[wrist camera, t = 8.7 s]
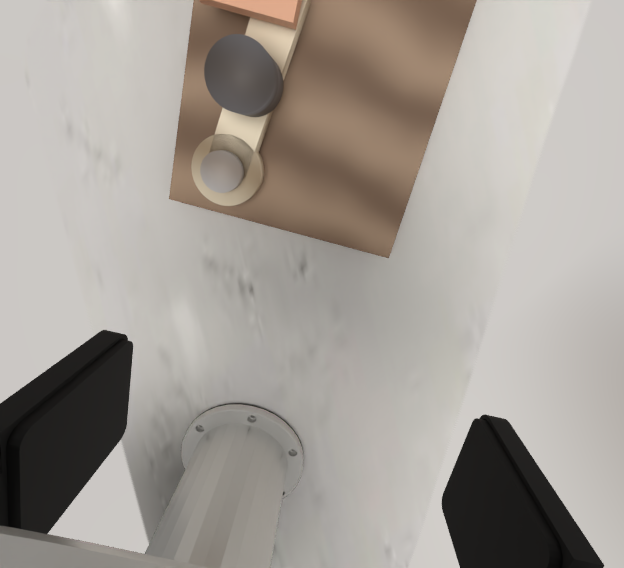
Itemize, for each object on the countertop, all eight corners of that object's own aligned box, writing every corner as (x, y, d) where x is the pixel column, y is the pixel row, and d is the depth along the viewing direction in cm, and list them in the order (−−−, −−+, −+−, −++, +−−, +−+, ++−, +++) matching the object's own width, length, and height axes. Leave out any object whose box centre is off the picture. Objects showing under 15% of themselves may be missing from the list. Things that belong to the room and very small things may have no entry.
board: (386, 253, 33) (393, 270, 28) (176, 196, 32) (150, 204, 28) (501, -88, 25) (535, -137, 20) (224, -167, 24) (198, -234, 20)
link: (251, 213, 30) (232, 227, 25) (190, 187, 30) (159, 196, 25) (325, 9, 26) (320, -25, 20) (253, -25, 25) (231, -68, 20)
